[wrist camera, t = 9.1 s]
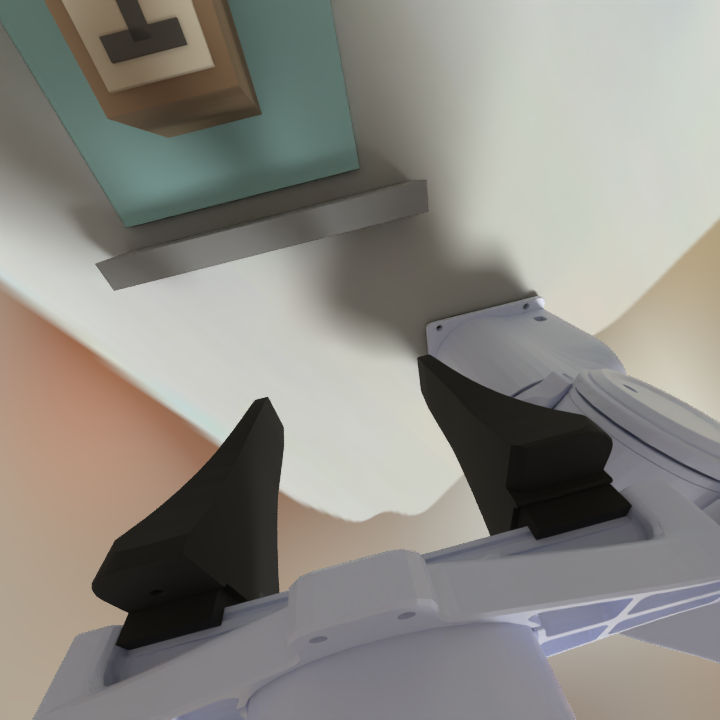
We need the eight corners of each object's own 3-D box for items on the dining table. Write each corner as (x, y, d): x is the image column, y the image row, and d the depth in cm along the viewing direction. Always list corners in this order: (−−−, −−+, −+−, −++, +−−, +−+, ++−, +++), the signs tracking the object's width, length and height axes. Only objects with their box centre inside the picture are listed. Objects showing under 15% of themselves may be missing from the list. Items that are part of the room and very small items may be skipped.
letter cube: (215, -39, 12) (152, -174, 7) (262, 114, 15) (236, 82, 10) (101, -9, 12) (-31, -126, 7) (168, 137, 15) (101, 117, 10)
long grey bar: (410, 180, 17) (426, 179, 15) (413, 207, 18) (428, 211, 16) (127, 252, 17) (94, 263, 15) (142, 276, 18) (114, 290, 16)
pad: (288, -223, 10) (287, -238, 10) (358, 168, 17) (359, 168, 16) (-81, -124, 10) (-95, -135, 10) (130, 226, 17) (126, 227, 16)
